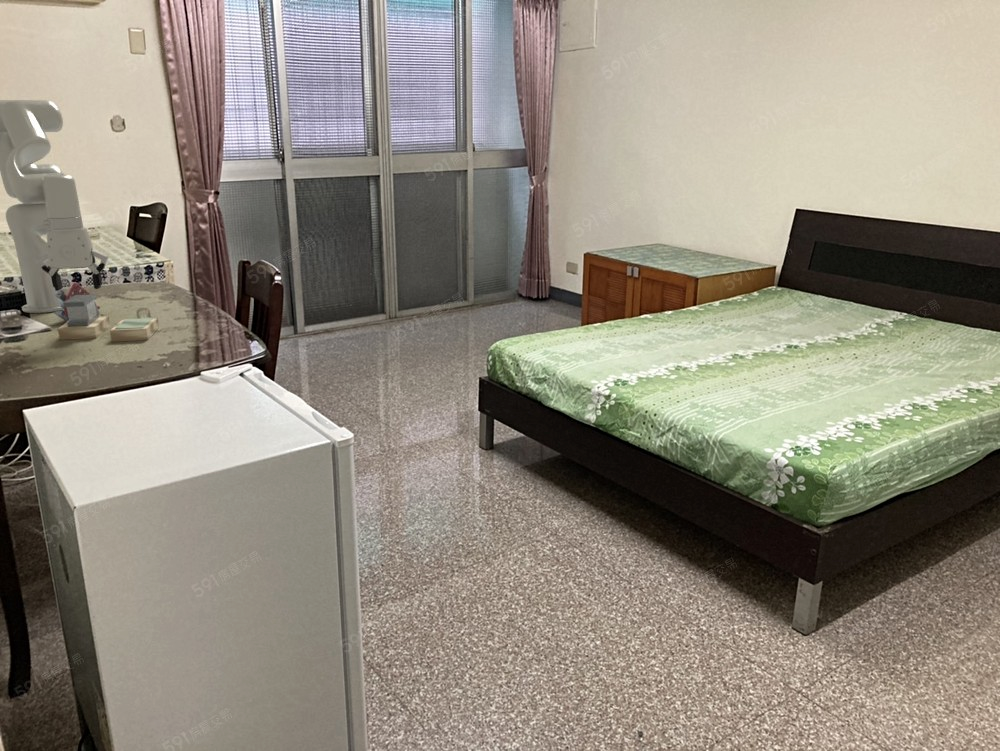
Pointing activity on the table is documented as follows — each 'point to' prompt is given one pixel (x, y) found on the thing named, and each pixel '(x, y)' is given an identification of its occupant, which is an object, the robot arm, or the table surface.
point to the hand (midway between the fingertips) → (78, 288)
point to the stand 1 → (84, 329)
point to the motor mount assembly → (64, 297)
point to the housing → (81, 310)
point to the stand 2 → (134, 329)
